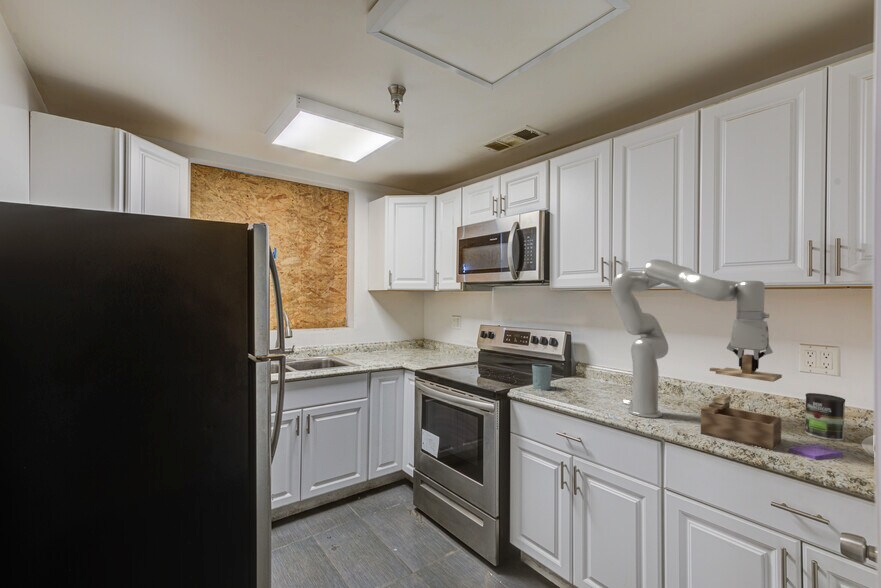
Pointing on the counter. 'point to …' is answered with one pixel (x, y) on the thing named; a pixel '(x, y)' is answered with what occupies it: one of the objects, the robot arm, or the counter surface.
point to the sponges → (816, 451)
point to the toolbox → (740, 426)
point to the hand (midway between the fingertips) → (748, 369)
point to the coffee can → (825, 416)
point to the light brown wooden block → (721, 399)
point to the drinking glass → (541, 376)
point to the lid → (747, 371)
